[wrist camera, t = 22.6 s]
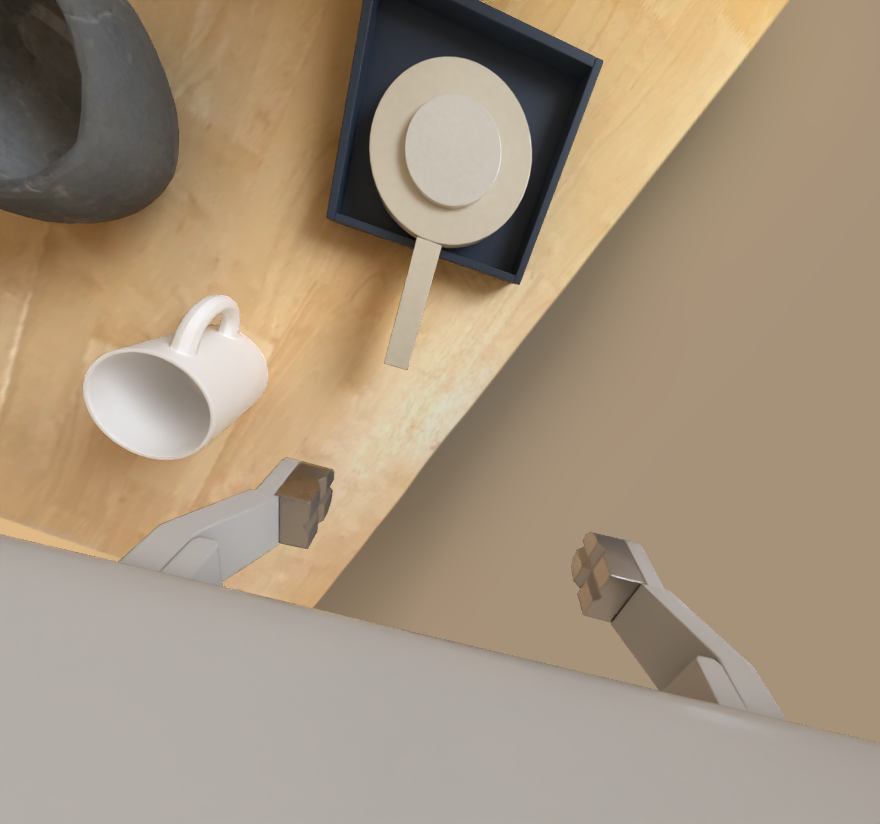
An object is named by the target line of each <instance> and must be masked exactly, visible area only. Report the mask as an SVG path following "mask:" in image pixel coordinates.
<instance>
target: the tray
mask: <svg viewBox="0 0 880 824" xmlns="http://www.w3.org/2000/svg"><path fill="white" fill-rule="evenodd" d="M437 57H459V58H464V59H468V60H471V61H474V62H476V63H479V64H480V65H482V66H484V67H486V68H488V69H489V70H491V71H492V72H493V73H495V74H496V75H497V76H498V77H499V78H500V79H501V80H502V81H503V82H505V83H506V85H507V86H508V87H509V88H510V90H511V91H512V92H513V94H514V95H515V97H516V99H517V100H518V102H519V103H520V106H521V108H522V110H523V112H524V114H525V117H526V121H527V124H528V127H529V132H530V137H531V147H532V163H531V171H530V177H529V181H528V184H527V188H526V190H525V193H524V196H523V198H522V200H521V202H520V204H519V205H518V207H517V209H516V210H515V212H514V213H513V214H512V216H511V217H510V218H509V219H508V220H507V221H506V223H505V224H504V225H503V226H502V227H501V228H500V229H498V230H497V231H496V232H495V233H494V234H492V235H491V236H489V237H488V238H486V239H485V240H482V241H480V242H478V243H476V244H473V245H470V246H466V247H460V248H444V247H441V251H440V255H439V258H440V259H443V260H446V261H449V262H452V263H455V264H457V265H460V266H463V267H466V268H469V269H472V270H475V271H478V272H481V273H483V274H486V275H489V276H492V277H495V278H498V279H501V280H504V281H507V282H509V283H513V284H518V285H519V284H520V282H521V280H522V277H523V274H524V272H525V269H526V266H527V264H528V261H529V258H530V256H531V253H532V250H533V248H534V245H535V242H536V240H537V237H538V234H539V232H540V229H541V226H542V224H543V221H544V218H545V216H546V213H547V210H548V208H549V205H550V202H551V200H552V197H553V194H554V192H555V189H556V186H557V184H558V181H559V178H560V176H561V173H562V170H563V168H564V165H565V163H566V160H567V157H568V155H569V152H570V149H571V147H572V144H573V141H574V139H575V136H576V133H577V131H578V128H579V125H580V123H581V120H582V117H583V115H584V112H585V109H586V107H587V104H588V101H589V99H590V96H591V93H592V91H593V88H594V85H595V83H596V80H597V77H598V75H599V72H600V69H601V67H602V64H603V60H601V59H599V58H596V57H595V56H592V55H590V54H588V53H586V52H584V51H582V50H580V49H578V48H576V47H574V46H572V45H570V44H568V43H566V42H563V41H561V40H559V39H557V38H555V37H553V36H551V35H549V34H547V33H545V32H543V31H541V30H539V29H537V28H534V27H532V26H530V25H528V24H526V23H524V22H522V21H520V20H518V19H516V18H514V17H512V16H510V15H508V14H505V13H503V12H501V11H499V10H497V9H495V8H493V7H491V6H489V5H487V4H485V3H483V2H481V1H479V0H363V5H362V11H361V17H360V23H359V29H358V35H357V41H356V47H355V52H354V58H353V64H352V70H351V76H350V82H349V88H348V94H347V99H346V105H345V111H344V117H343V123H342V129H341V135H340V141H339V146H338V152H337V158H336V164H335V170H334V176H333V182H332V188H331V193H330V199H329V205H328V211H327V219H329V220H331V221H333V222H336V223H339V224H342V225H345V226H348V227H350V228H353V229H356V230H359V231H362V232H365V233H368V234H371V235H374V236H376V237H379V238H382V239H385V240H388V241H391V242H394V243H397V244H400V245H402V246H405V247H408V248H411V249H414V246H415V242H416V238H415V237H413V236H411V235H410V234H409V233H407V232H406V231H405V230H404V229H402V228H401V227H400V226H399V225H398V224H397V223H396V222H395V221H394V219H393V218H392V217H391V215H390V214H389V213H388V212H387V210H386V208H385V206H384V205H383V203H382V201H381V199H380V197H379V194H378V192H377V189H376V186H375V183H374V180H373V175H372V170H371V164H370V155H369V140H370V131H371V125H372V121H373V118H374V114H375V111H376V109H377V107H378V104H379V102H380V100H381V98H382V97H383V95H384V93H385V92H386V90H387V89H388V88H389V86H390V85H391V84H392V83H393V81H394V80H395V79H396V78H398V77H399V76H400V75H401V74H402V73H403V72H404V71H406V70H407V69H409V68H410V67H412V66H413V65H416V64H418V63H420V62H422V61H425V60H428V59H431V58H437Z"/></svg>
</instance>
